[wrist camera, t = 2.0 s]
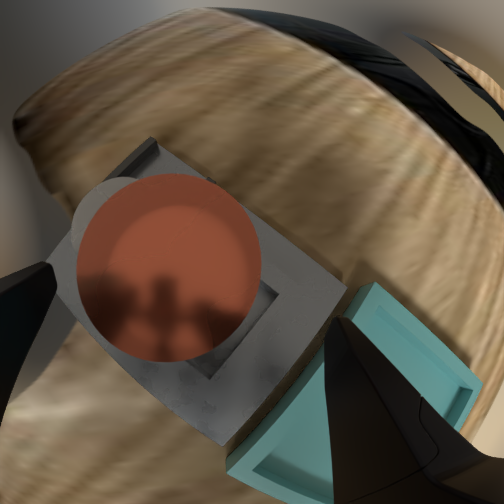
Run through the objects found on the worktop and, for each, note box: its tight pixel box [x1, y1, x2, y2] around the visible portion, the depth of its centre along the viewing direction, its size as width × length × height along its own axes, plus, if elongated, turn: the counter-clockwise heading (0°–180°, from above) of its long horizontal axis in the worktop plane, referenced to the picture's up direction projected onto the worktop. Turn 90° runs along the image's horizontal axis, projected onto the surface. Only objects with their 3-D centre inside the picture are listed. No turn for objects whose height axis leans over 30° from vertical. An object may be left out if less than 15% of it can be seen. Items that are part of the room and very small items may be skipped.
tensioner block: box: [46, 137, 348, 447], centre depth 15 cm, size 12×16×3 cm
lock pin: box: [76, 173, 262, 362], centre depth 10 cm, size 4×4×10 cm
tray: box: [226, 282, 483, 504], centre depth 13 cm, size 14×14×2 cm
